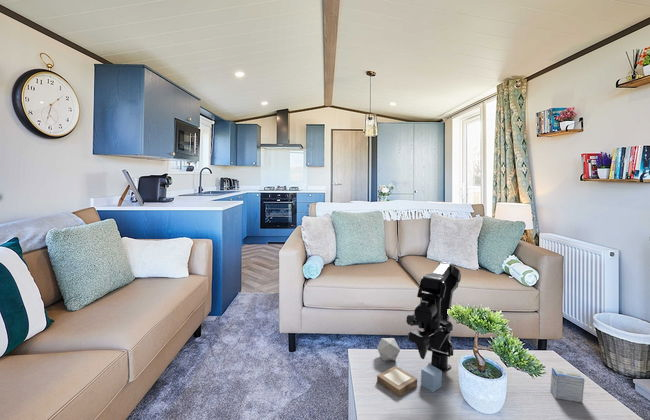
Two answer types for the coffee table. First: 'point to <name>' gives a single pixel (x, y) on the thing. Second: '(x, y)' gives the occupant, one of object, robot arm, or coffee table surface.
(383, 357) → the die
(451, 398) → the coffee table surface
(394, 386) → the picture frame
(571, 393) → the medicine box
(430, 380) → the block
